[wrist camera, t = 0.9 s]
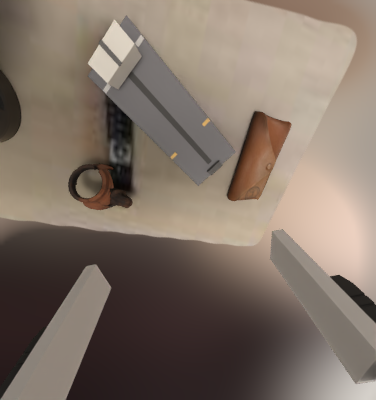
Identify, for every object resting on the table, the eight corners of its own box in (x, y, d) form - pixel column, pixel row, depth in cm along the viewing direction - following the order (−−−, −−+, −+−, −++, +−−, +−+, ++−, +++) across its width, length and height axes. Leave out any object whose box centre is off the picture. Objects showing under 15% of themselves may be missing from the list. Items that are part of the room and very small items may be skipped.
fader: (101, 72, 24) (86, 62, 20) (125, 36, 22) (113, 18, 19) (118, 90, 25) (107, 83, 21) (142, 56, 23) (134, 43, 20)
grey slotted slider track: (94, 79, 26) (83, 73, 24) (130, 23, 24) (123, 9, 21) (197, 182, 35) (198, 187, 32) (232, 150, 32) (237, 152, 29)
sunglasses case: (259, 201, 38) (257, 211, 32) (231, 192, 40) (224, 200, 35) (293, 119, 30) (297, 114, 25) (256, 114, 33) (252, 108, 27)
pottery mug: (87, 202, 37) (55, 199, 28) (102, 165, 37) (75, 151, 29) (133, 220, 36) (114, 222, 27) (148, 181, 36) (133, 172, 28)
